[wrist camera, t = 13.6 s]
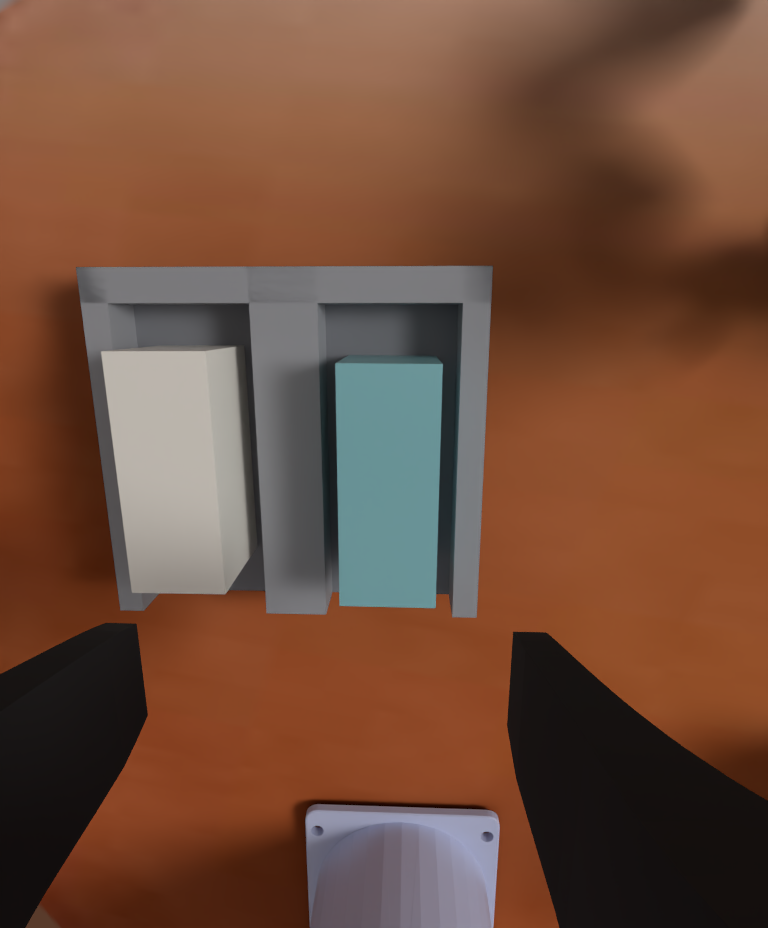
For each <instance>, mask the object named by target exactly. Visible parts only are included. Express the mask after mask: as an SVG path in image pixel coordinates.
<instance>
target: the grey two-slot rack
mask: <svg viewBox="0 0 768 928" xmlns="http://www.w3.org/2000/svg"><path fill="white" fill-rule="evenodd" d="M76 271H77V279H78V287H79V294H80V302H81V310H82V318H83V325H84V333H85V341H86V348H87V356H88V364H89V371H90V379H91V387H92V395H93V402H94V410H95V418H96V425H97V433H98V441H99V449H100V456H101V464H102V472H103V479H104V487H105V495H106V503H107V510H108V518H109V526H110V533H111V541H112V549H113V557H114V564H115V572H116V580H117V587H118V595H119V603H120V610H134V611H144V610H145V609H146V608H147V606H148V605H149V604H150V603H151V602H152V601H153V600H154V599H155V598H156V597H157V595H158V594H159V593H132V590H131V582H130V574H129V566H128V559H127V551H126V543H125V535H124V527H123V519H122V512H121V504H120V496H119V488H118V480H117V473H116V465H115V457H114V449H113V441H112V434H111V426H110V418H109V410H108V402H107V395H106V387H105V379H104V371H103V363H102V355H101V351H110V350H120V349H130V348H140V347H150V346H190V345H244V348H245V364H246V379H247V395H248V410H249V425H250V441H251V456H252V471H253V487H254V502H255V517H256V533H257V548H256V549H255V551H254V552H253V554H252V555H251V557H250V558H249V560H248V561H247V563H246V564H245V566H244V567H243V569H242V570H241V572H240V573H239V575H238V576H237V578H236V579H235V581H234V582H233V584H232V585H231V587H230V588H229V590H258V591H265V592H266V609H267V613H280V614H326V613H327V609H328V606H329V602H330V598H331V595H332V592H339V544H338V488H337V432H336V375H335V363H337V362H338V361H340V360H342V359H343V358H345V357H347V356H348V355H409V356H437V358H438V359H439V360H440V361H441V362H442V364H443V374H442V408H441V442H440V476H439V510H438V544H437V578H436V594H449V599H450V605H451V612H452V617H475V618H477V598H478V576H479V554H480V533H481V511H482V490H483V468H484V446H485V425H486V403H487V381H488V360H489V338H490V316H491V295H492V273H493V266H305V267H76Z"/></svg>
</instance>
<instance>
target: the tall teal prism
mask: <svg viewBox="0 0 768 928" xmlns="http://www.w3.org/2000/svg"><path fill="white" fill-rule="evenodd" d="M442 374H443V364H442V362H441V361H440V360H439V359H438V358H437V356H409V355H348V356H347V357H345V358H343V359H342V360H340V361H338V362H337V363H335V375H336V432H337V488H338V544H339V600H340V606H367V607H411V608H436V578H437V544H438V510H439V476H440V442H441V408H442Z"/></svg>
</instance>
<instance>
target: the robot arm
mask: <svg viewBox="0 0 768 928" xmlns="http://www.w3.org/2000/svg"><path fill="white" fill-rule="evenodd" d="M147 716H148V714H147V706H146V697H145V689H144V681H143V673H142V665H141V657H140V648H139V640H138V632H137V624H125V623H105V624H102V625H99V626H97V627H94V628H92V629H90V630H88V631H85V632H83V633H81V634H79V635H77V636H75V637H73V638H71V639H69V640H67V641H65V642H63V643H61V644H59V645H57V646H55V647H53V648H51V649H49V650H47V651H45V652H43V653H41V654H39V655H37V656H35V657H33V658H31V659H29V660H27V661H25V662H23V663H21V664H20V665H18V666H16V667H14V668H12V669H10V670H8V671H6V672H4V673H2V674H0V928H25V927H26V925H27V924H28V922H29V920H30V918H31V917H32V915H33V913H34V911H35V909H36V908H37V906H38V905H39V903H40V901H41V899H42V898H43V896H44V894H45V893H46V891H47V889H48V888H49V886H50V885H51V883H52V881H53V880H54V878H55V877H56V875H57V873H58V872H59V870H60V869H61V867H62V865H63V864H64V862H65V861H66V859H67V858H68V856H69V854H70V853H71V851H72V850H73V848H74V846H75V845H76V843H77V842H78V840H79V838H80V837H81V835H82V834H83V832H84V831H85V829H86V827H87V826H88V824H89V823H90V821H91V819H92V818H93V816H94V815H95V813H96V812H97V810H98V808H99V807H100V805H101V803H102V802H103V800H104V799H105V797H106V795H107V794H108V792H109V791H110V789H111V787H112V786H113V784H114V782H115V781H116V779H117V777H118V776H119V774H120V772H121V771H122V769H123V767H124V766H125V764H126V762H127V759H128V757H129V755H130V753H131V751H132V749H133V747H134V745H135V743H136V741H137V738H138V736H139V734H140V732H141V729H142V727H143V725H144V722H145V720H146V718H147ZM507 727H508V733H509V739H510V745H511V751H512V757H513V762H514V768H515V774H516V779H517V783H518V786H519V790H520V793H521V797H522V800H523V804H524V807H525V810H526V814H527V817H528V821H529V824H530V828H531V831H532V834H533V838H534V841H535V844H536V848H537V851H538V855H539V858H540V861H541V865H542V868H543V871H544V875H545V878H546V882H547V885H548V888H549V892H550V895H551V899H552V902H553V905H554V909H555V912H556V916H557V920H558V924H559V928H768V801H767V800H765V799H764V798H762V797H760V796H758V795H757V794H755V793H753V792H752V791H750V790H748V789H747V788H745V787H744V786H742V785H740V784H739V783H737V782H735V781H734V780H732V779H731V778H729V777H727V776H726V775H724V774H723V773H721V772H720V771H718V770H717V769H715V768H714V767H712V766H711V765H709V764H708V763H706V762H705V761H703V760H702V759H700V758H699V757H697V756H696V755H694V754H693V753H691V752H690V751H688V750H687V749H685V748H684V747H683V746H681V745H680V744H678V743H677V742H676V741H674V740H673V739H672V738H670V737H669V736H667V735H666V734H665V733H664V732H662V731H661V730H660V729H658V728H657V727H656V726H654V725H653V724H652V723H651V722H649V721H648V720H647V719H645V718H644V717H643V716H641V715H640V714H639V713H638V712H636V711H635V710H634V709H633V708H631V707H630V706H629V705H628V704H627V703H625V702H624V701H623V700H622V699H620V698H619V697H618V696H617V695H616V694H615V693H613V692H612V691H611V690H610V689H609V688H608V687H606V686H605V685H604V684H603V683H602V682H601V681H600V680H598V679H597V678H596V677H595V676H594V675H593V674H592V673H591V672H589V671H588V670H587V669H586V668H585V667H584V666H583V665H582V664H581V663H580V662H578V661H577V660H576V659H575V658H574V657H573V656H572V655H571V654H570V653H569V652H568V651H566V650H565V649H564V648H563V647H562V646H561V645H560V644H559V643H558V642H557V641H555V640H554V639H553V638H552V637H551V636H550V635H549V634H547V633H543V632H513V645H512V660H511V676H510V691H509V706H508V722H507ZM315 826H320V828H318V827H315ZM305 828H306V851H307V874H308V898H309V921H310V928H493V924H494V909H495V893H496V877H497V862H498V846H499V831H500V825H499V819H498V816H497V814H496V813H495V812H493V811H491V810H479V809H449V808H419V807H390V806H360V805H330V804H315V805H312V806H310V807H309V808H308V809H307V813H306V818H305ZM484 832H489V833H486V834H485V833H484Z"/></svg>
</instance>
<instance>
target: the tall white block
mask: <svg viewBox="0 0 768 928" xmlns="http://www.w3.org/2000/svg"><path fill="white" fill-rule="evenodd" d="M101 355H102V363H103V371H104V379H105V387H106V395H107V402H108V410H109V418H110V426H111V434H112V441H113V449H114V457H115V465H116V473H117V480H118V488H119V496H120V504H121V512H122V519H123V527H124V535H125V543H126V551H127V559H128V566H129V574H130V582H131V590H132V593H177V594H226V593H227V591H228V590H229V588H230V587H231V585H232V584H233V582H234V581H235V579H236V578H237V576H238V575H239V573H240V572H241V570H242V569H243V567H244V566H245V564H246V563H247V561H248V560H249V558H250V557H251V555H252V554H253V552H254V551H255V549H256V548H257V533H256V517H255V502H254V487H253V471H252V456H251V441H250V425H249V410H248V395H247V379H246V364H245V348H244V345H190V346H150V347H140V348H130V349H120V350H110V351H101Z"/></svg>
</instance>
